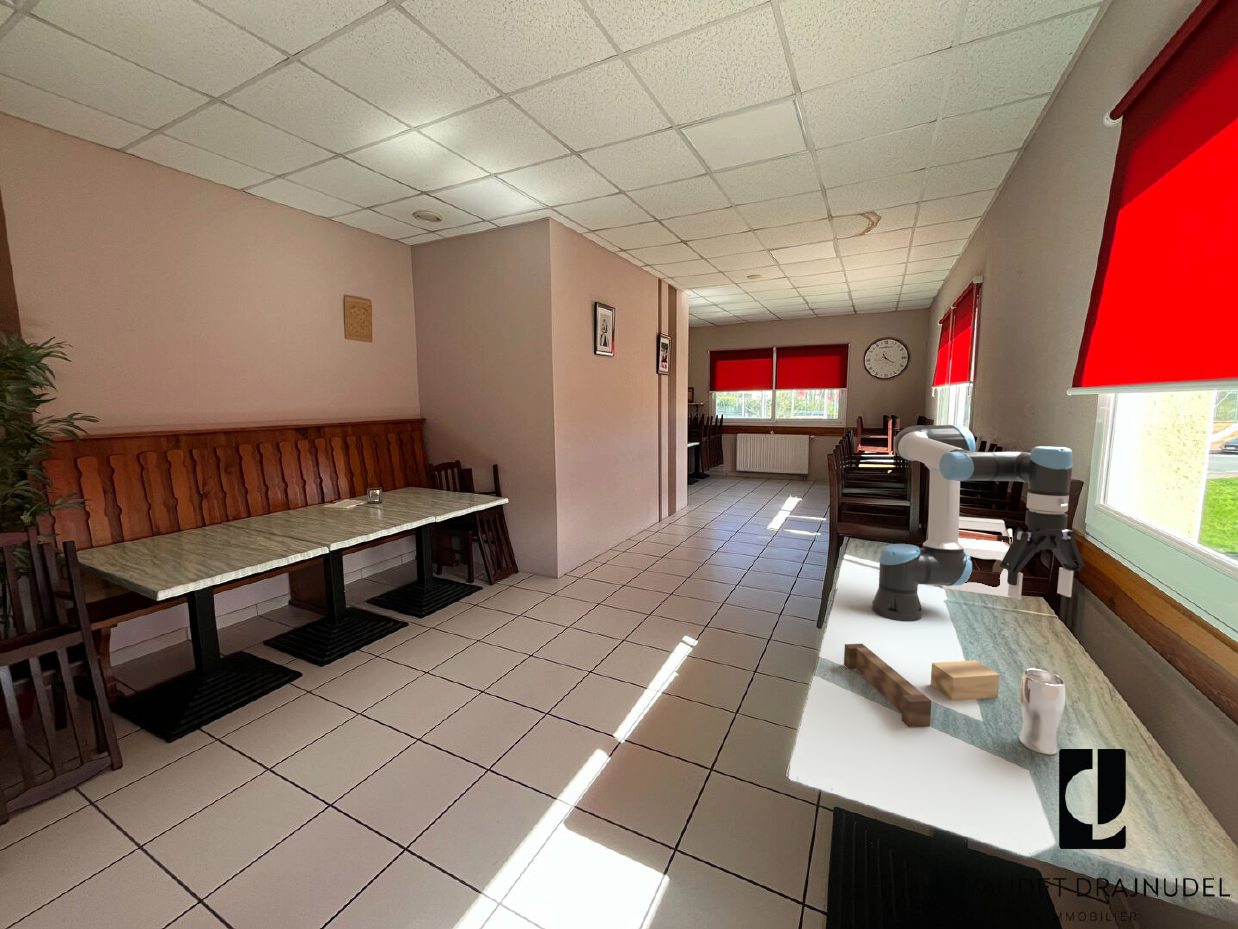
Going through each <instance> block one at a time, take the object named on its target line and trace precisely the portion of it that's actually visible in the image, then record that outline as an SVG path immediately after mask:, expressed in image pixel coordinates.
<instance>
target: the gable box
mask: <svg viewBox="0 0 1238 929" xmlns="http://www.w3.org/2000/svg"><path fill="white" fill-rule="evenodd" d="M959 529H966V530H967V529H968V530H977V531H989V532H999V533H1001V534H1002V535H1001V536H1008V537H1009V544H1008V543H1006V542H1003V540H1002V539H1001V541H1000V540H988V539H981V540H976V539H977V538H971V537H970V538H969V537H959V539H958V542H959V543H960V544H961V545H962V546H963V547H964V551H965V552H966V553H968V554H969V556H970V557H973V558H976V559H977V558H978V559H982V560H995V562H994V563H993V565H992V573H993V572H999V573H1001V574H1000V578H999V579H1000V585H999V586H997V587H992V586H988V585H985V584H982V583H977V582H967V583H964V584H962V585H952V586H946V585H940V586H941V588H942V589H944V590H952V591H960V592H968V593H973V594H974V593H975V594H982V595H990V596H996V597H1004V598H1005V597H1006V598H1012V597H1010V596H1008V587H1009V584H1008V582H1007V578H1008V570H1006V569H1004V568H1001V567H1000V564H1001V562H1002V560H1003V558H1004V556H1005V555H1006V553H1007V551H1008V549H1009V547H1010V545H1011V543H1012V542H1011V539H1010V537H1012V538H1013V529H1012V528H1007V527H1006V524H1005V521H1004V520H1003V519H995V518H985V517H984V518H983V517H971V516H968V517H967V516H961V515H959ZM1007 565H1008V564H1007Z"/></svg>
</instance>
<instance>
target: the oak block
mask: <svg viewBox="0 0 1238 929" xmlns="http://www.w3.org/2000/svg"><path fill="white" fill-rule="evenodd" d="M930 675H931V676H930V686H932V687H934V688H935V689H936V690H937V691H938V692H940V693H941V694H942V695H944V696H945V697H947V698H948V699H949V700H950V701H966V700H967V701H968V700H979V699H992V698H995V699H996V698H999V697H998V696H999V685H1000V674H999V673H998V672H996V671H994V670H993V669H991V668H989V667H987V666H986V665H984V664H982V663H981V662H979V661H978V660H976V659H974V660H957V661H944V662H943V661H942V662H940V661H939V662H932V663H931V673H930Z"/></svg>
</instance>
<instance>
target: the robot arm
mask: <svg viewBox="0 0 1238 929" xmlns="http://www.w3.org/2000/svg"><path fill="white" fill-rule="evenodd" d="M893 449H894V451H895V453H896V454H897V455H898V456H899V457H901V458H903V459H905V460H907V461H913V462H914V461H918V462H921V463H922V464H924V465H925V467H927V468H928V470H929V486H928V487H929V492H928V493H929V495H928V528H927V529H928V536H927V538H928V539H927V540H925V541H924V542H923V543H922V549H921V548H920V547H919V546H918V545H914V544H910V543H908V544H906V543H894V544H888V545H886V546H884V547H882V549H881V550H880V556H879V560H878V561H879V573H878V576H879V577H878V588H877V590H876V592H875V595H874V597H873V600H872V601H871V609H872V610H873V612H874V613H876V614H878V615H880V616H882V617H884V618H888V619H890V620H891V619H892V620H896V621H902V622H903V621H906V622H911V621H912V622H914V621H919V620H921V619H922V618H923V608H922V604H921V601H920V598H919V595H918V588H919V585H927V586H929V585H930V586H931V585H932V586H941V585H946V586H952V585H962V584H964V583H965V582H967V581H968V579H969V578H970V575H971V573H973V562H972V559H971V556H969V554H968V553H966V552H965V551H964V547H963V546H962V545H961V544H960V543H959V542H958V539H959V538H960V536H959V535H960V533H959V532H960V528H959V516H960V502H961V501H960V498H961V494H960V493H961V492H960V491H961V482H963V481H973V482H974V481H975V482H976V481H980V482H981V481H988V482H989V481H990V482H992V481H993V482H994V481H995V482H996V481H997V482H998V481H999V482H1022V483H1028V484H1027V485H1028V487H1027V494H1026V496H1027V498H1026V505H1025V506H1026V508H1027V510H1026V512H1025V519H1024V520H1025V521H1024V522H1025V525H1026V526H1027V528H1028V529H1027V530H1026V532H1025V531H1021V530H1018V529H1017V530H1015V531H1014V536H1013V539H1012V543H1011V545H1010V547H1009V549H1008V551H1007V553H1006V555H1005V556H1004V558H1003V560H1002V562H1001V564H1000V567H1001V568H1004V569H1006V570H1008V578H1007V582H1008V584H1009V587H1008V596H1010V597H1011V598H1012V599H1015V600H1018V601H1021V600H1022V590H1023V588H1022V587H1023V578H1024V573H1023V572H1021V571H1022V570H1023V569H1024V567H1025V566H1026V565H1027V564H1028V562H1029V561H1030V560H1031V559H1032V558H1033V556H1034V555H1035V554H1036V553H1039V552H1040V551H1046V550H1050V551H1052V553H1053V554H1054V556H1055V557H1056V559H1057V560H1058V561H1059V562H1060V564H1061V566H1062V567H1059V569H1058V579H1057V580H1058V581H1057V591H1056V593H1057V594H1060V595H1061V596H1064V597H1067V598H1072V589H1073V583H1074V581H1075V572H1080V571H1081V568H1083V567H1084V566H1085V563H1084V560H1083V558H1082V555H1081V552H1080V550H1079V548H1078V544H1077V542H1076V532H1075V531H1074V530H1071V529H1067V528H1068V526H1067V525H1068V517H1069V516H1068V514H1067V513H1066V512H1068V511H1069V499H1070V490H1071V485H1072V484H1071V483H1072V475H1073V474H1072V472H1073V467H1074V463H1073V450H1072V449H1071V448H1068V447H1065V446H1034V447H1032V448H1031V451H1030V452H1026V451H1021V450H1008V451H986V452H985V451H976V441H975V437H974V435H973V432H971V431H970V429H968V427H966V426H964V425H954V424H948V425H947V424H942V425H940V424H939V425H938V424H937V425H935V424H934V425H930V424H929V425H921V424H920V425H911V426H908V427H906V428H903V429H901V431H899V432H898V433H897V434H896V436H895V438H894V440H893ZM1007 564H1008V565H1007ZM1010 597H1009V598H1010Z"/></svg>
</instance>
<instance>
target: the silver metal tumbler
mask: <svg viewBox="0 0 1238 929" xmlns="http://www.w3.org/2000/svg"><path fill="white" fill-rule="evenodd" d="M1019 689H1020V690H1019V699H1020V710H1021V715H1022V727H1021V730H1020V733H1019V736H1018V740H1019V742H1020V743H1021V744H1022V745H1023V746H1024V747H1025V748H1028V749H1029V750H1031V751H1033V752H1035V753H1039V754H1043V755H1048V756H1051V755H1056V754H1057V753H1058V744H1057V732H1058V729H1059V725H1060V722H1061V721H1062V717H1063V714H1064V711H1065V704H1066V680H1064V678H1062V677H1061V676H1059V675H1057V674H1055V673H1052V672H1050V671H1046V670H1043V669H1039V668H1025V669H1024V670H1023V671H1022V677H1021V681H1020V688H1019Z"/></svg>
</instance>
